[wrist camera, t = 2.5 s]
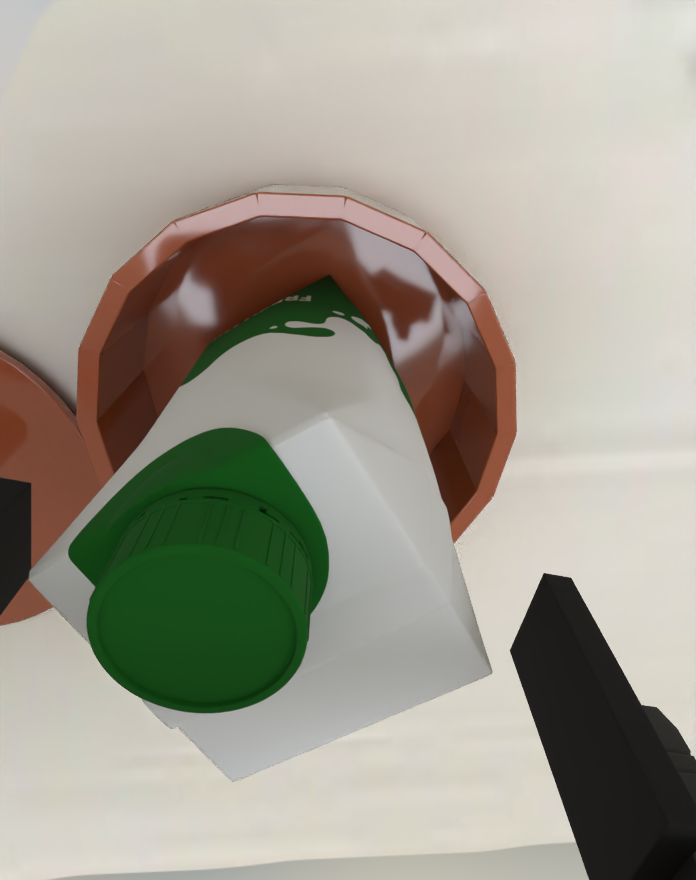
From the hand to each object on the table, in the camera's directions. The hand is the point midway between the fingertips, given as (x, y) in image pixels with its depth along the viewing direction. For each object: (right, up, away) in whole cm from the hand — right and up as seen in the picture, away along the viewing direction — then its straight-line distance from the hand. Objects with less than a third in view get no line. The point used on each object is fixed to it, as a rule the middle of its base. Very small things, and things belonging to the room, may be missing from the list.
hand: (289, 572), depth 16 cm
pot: (-1, +7, +15) cm, 16 cm away
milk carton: (-1, +7, +14) cm, 16 cm away
